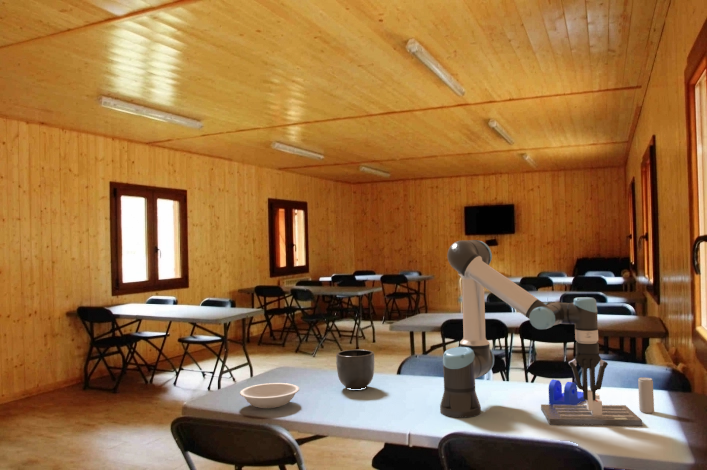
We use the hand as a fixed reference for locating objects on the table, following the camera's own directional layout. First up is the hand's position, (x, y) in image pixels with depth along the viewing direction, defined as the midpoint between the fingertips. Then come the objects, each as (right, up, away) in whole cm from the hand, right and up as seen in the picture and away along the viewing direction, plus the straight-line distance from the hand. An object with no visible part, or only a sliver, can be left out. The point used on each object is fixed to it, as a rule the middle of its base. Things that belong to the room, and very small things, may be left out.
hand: (589, 409), depth 201 cm
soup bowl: (-117, -9, +32) cm, 121 cm away
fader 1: (+5, -2, +8) cm, 9 cm away
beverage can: (+24, -4, +9) cm, 26 cm away
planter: (-81, -8, +56) cm, 99 cm away
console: (+1, -4, +4) cm, 6 cm away
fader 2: (+2, -2, 0) cm, 3 cm away
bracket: (+3, -5, +26) cm, 26 cm away
